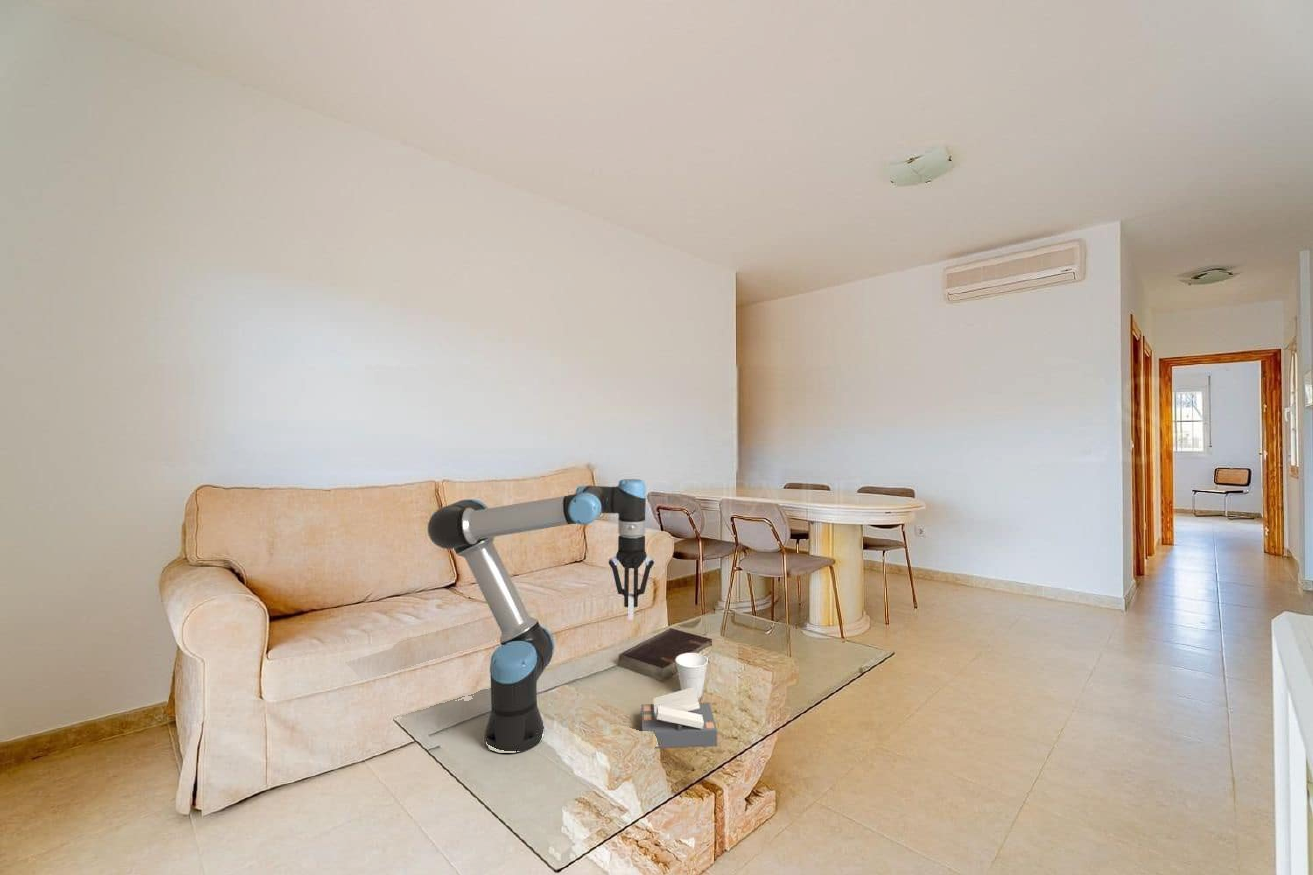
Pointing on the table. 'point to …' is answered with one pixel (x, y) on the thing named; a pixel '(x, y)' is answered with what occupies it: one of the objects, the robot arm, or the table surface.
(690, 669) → the cup
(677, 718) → the rocker
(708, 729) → the switch unit
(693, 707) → the white block
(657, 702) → the rocker
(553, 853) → the table surface
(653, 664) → the dark brown tray
